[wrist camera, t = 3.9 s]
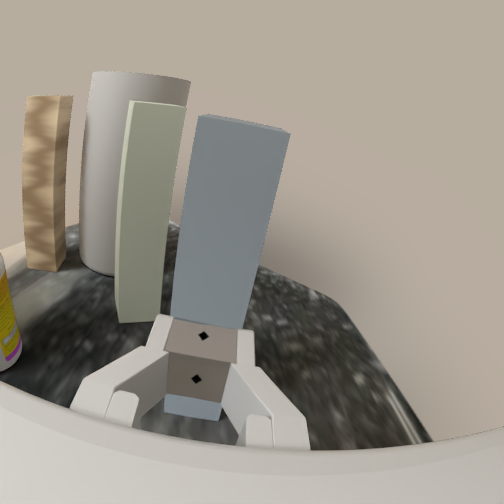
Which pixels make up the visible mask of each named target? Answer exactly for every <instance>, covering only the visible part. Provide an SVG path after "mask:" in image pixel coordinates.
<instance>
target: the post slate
mask: <svg viewBox="0 0 504 504" xmlns="http://www.w3.org/2000/svg"><path fill="white" fill-rule="evenodd" d="M289 137H290V133H288V132H286V131H284V130H282V129H281V128H277V127H272V126H268V125H263V124H258V123H254V122H249V121H243V120H239V119H233V118H228V117H222V116H217V115H210V114H207V115H201V116H198V121H197V126H196V132H195V137H194V142H193V148H192V154H191V160H190V165H189V172H188V177H187V184H186V190H185V197H184V203H183V210H182V217H181V224H180V231H179V239H178V247H177V255H176V264H175V272H174V281H173V291H172V301H171V312H170V316H173V317H178V318H182V319H187V320H192V321H196V322H201V323H206V324H211V325H216V326H222V327H228V328H234V329H242V328H243V324H244V320H245V316H246V312H247V308H248V304H249V300H250V296H251V292H252V288H253V284H254V280H255V276H256V272H257V268H258V264H259V260H260V256H261V252H262V248H263V244H264V240H265V236H266V232H267V228H268V224H269V220H270V216H271V212H272V208H273V204H274V200H275V196H276V191H277V187H278V183H279V179H280V175H281V171H282V167H283V163H284V158H285V154H286V151H287V146H288V142H289ZM221 409H222V406H221V403H217V402H212V401H206V400H201V399H196V398H190V397H184V396H178V395H172V394H166V396H165V402H164V412H166V413H171V414H176V415H182V416H188V417H193V418H200V419H206V420H213V421H219V417H220V413H221Z"/></svg>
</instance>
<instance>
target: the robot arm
mask: <svg viewBox="0 0 504 504" xmlns="http://www.w3.org/2000/svg"><path fill="white" fill-rule="evenodd" d="M166 394H172V395H178V396H184V397H190V398H196V399H201V400H206V401H212V402H217V403H221V406H222V408H223V409H224V411H225V413H226V414H227V416H228V418H229V419H230V421H231V423H232V425H233V426H234V428H235V430H236V431H237V433H238V434H239V437H238V440H237V443H236V445H235V446H232V445H224V444H216V443H209V442H202V441H196V440H190V439H184V438H178V437H173V436H168V435H163V434H158V433H154V432H149V431H145V430H141V423H140V418H141V417H142V416H143V415H144V414H146V413H147V412H148V411H149V410H150V409H151V408H152V407H153V406H154V405H156V404H157V403H158V402H159V401H160V400H161V399H162V398H163V397H165V396H166ZM0 504H504V426H503V427H500V428H496V429H493V430H489V431H485V432H480V433H476V434H472V435H467V436H462V437H457V438H452V439H447V440H441V441H435V442H429V443H422V444H415V445H406V446H397V447H387V448H375V449H359V450H310V443H309V437H308V431H307V424H306V418H305V417H304V416H303V415H302V414H301V412H300V411H299V410H298V409H297V408H296V407H295V406H294V405H293V404H292V403H291V402H290V400H289V399H288V398H287V397H286V396H285V395H284V394H283V393H282V392H281V391H280V389H279V388H278V387H277V386H276V385H275V384H274V383H273V382H272V380H271V379H270V378H269V377H268V376H267V375H266V374H265V372H264V371H263V370H262V369H261V368H260V367H255V345H254V332H253V331H252V330H245V329H234V328H228V327H222V326H216V325H211V324H206V323H201V322H196V321H192V320H187V319H182V318H178V317H173V316H168V315H163V314H158V315H157V317H156V319H155V322H154V324H153V327H152V330H151V333H150V335H149V338H148V341H147V343H146V346H145V347H144V346H140V347H138V348H136V349H134V350H133V351H131V352H129V353H127V354H126V355H124V356H122V357H120V358H119V359H117V360H115V361H113V362H112V363H110V364H108V365H106V366H105V367H103V368H101V369H99V370H98V371H96V372H94V373H92V374H90V375H89V376H87V377H85V378H83V381H82V383H81V385H80V387H79V389H78V391H77V393H76V395H75V397H74V400H73V402H72V404H71V406H70V408H69V409H68V408H65V407H63V406H60V405H57V404H54V403H52V402H49V401H46V400H44V399H41V398H39V397H36V396H34V395H31V394H29V393H27V392H24V391H22V390H20V389H17V388H15V387H13V386H11V385H8V384H6V383H4V382H2V381H0Z"/></svg>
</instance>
